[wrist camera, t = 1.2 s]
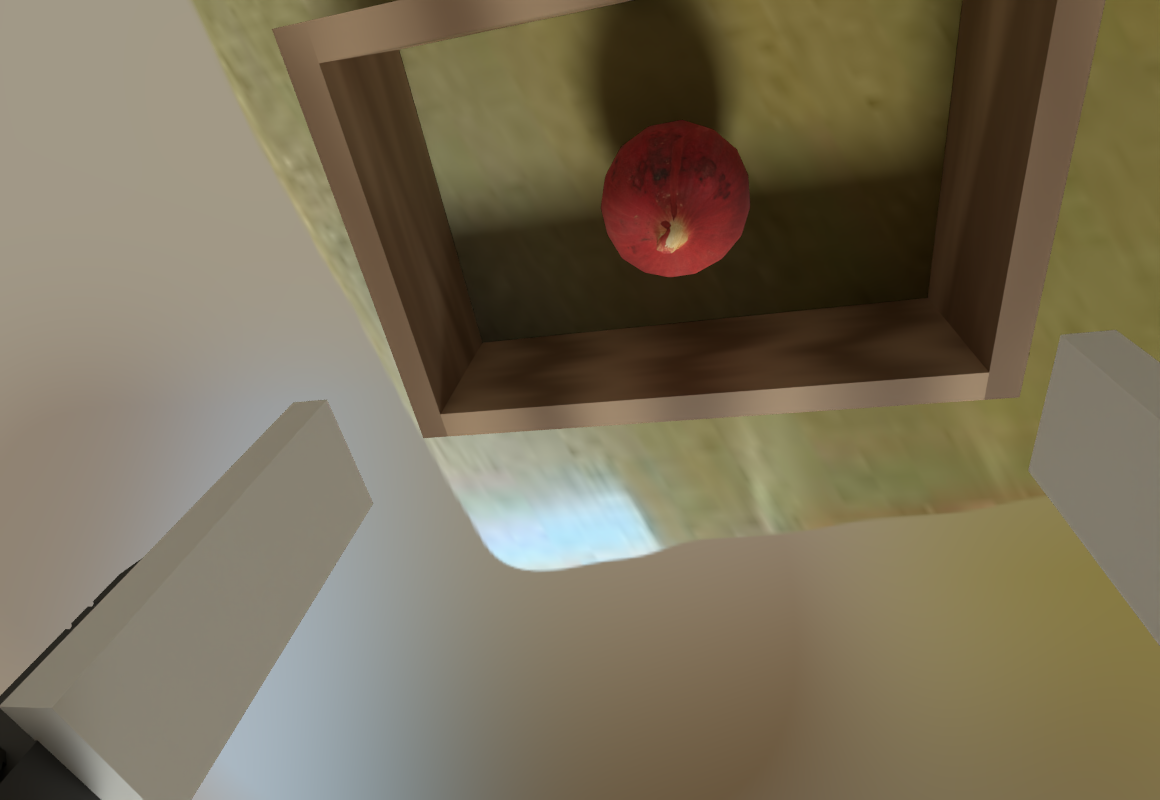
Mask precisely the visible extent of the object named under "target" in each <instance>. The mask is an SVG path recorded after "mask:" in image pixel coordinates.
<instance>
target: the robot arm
mask: <svg viewBox="0 0 1160 800" xmlns="http://www.w3.org/2000/svg"><path fill="white" fill-rule="evenodd" d="M1029 472H1030V474H1031V475H1032V476H1033V478H1034V479H1035V480H1036V482H1037V483H1038V484H1039V486H1040V487H1041V488H1042V490H1043V491H1044V492H1045V494H1046V495H1047V496H1048V498H1049V499H1050V500H1051V502H1052V503H1053V504H1054V506H1055V507H1056V508H1057V510H1058V511H1059V512H1060V514H1061V515H1062V516H1063V518H1064V519H1065V520H1066V521H1067V523H1068V524H1069V526H1070V527H1071V528H1072V529H1073V531H1074V532H1075V533H1076V535H1077V536H1078V538H1079V539H1080V540H1081V541H1082V543H1083V544H1084V546H1085V547H1086V548H1087V549H1088V551H1089V552H1090V554H1091V555H1092V556H1093V558H1094V559H1095V560H1096V561H1097V563H1098V564H1099V565H1100V567H1101V568H1102V569H1103V571H1104V572H1105V574H1106V575H1107V576H1108V578H1109V579H1110V580H1111V581H1112V583H1113V584H1114V585H1115V587H1116V588H1117V590H1118V591H1119V592H1120V594H1121V595H1122V596H1123V597H1124V599H1125V600H1126V601H1127V603H1128V604H1129V605H1130V607H1131V608H1132V609H1133V611H1134V612H1135V613H1136V615H1137V616H1138V618H1139V619H1140V620H1141V621H1142V623H1143V624H1144V626H1145V627H1146V628H1147V630H1148V631H1149V632H1150V633H1151V635H1152V636H1153V638H1154V639H1155V640H1156V642H1157V643H1158V644H1159V645H1160V362H1158V361H1157V360H1156V359H1154V358H1153V357H1152V356H1150V355H1149V354H1148V353H1146V352H1145V351H1144V350H1142V349H1141V348H1140V347H1138V346H1137V345H1136V344H1134V343H1133V342H1131V341H1130V340H1129V339H1127V338H1126V337H1125V336H1123V335H1122V334H1121V333H1119V332H1118V331H1117V330H1110V331H1099V332H1088V333H1076V334H1065V335H1061V336H1060V341H1059V345H1058V349H1057V353H1056V357H1055V362H1054V366H1053V370H1052V374H1051V378H1050V382H1049V387H1048V391H1047V395H1046V399H1045V403H1044V408H1043V412H1042V416H1041V420H1040V424H1039V429H1038V433H1037V437H1036V441H1035V445H1034V450H1033V454H1032V458H1031V462H1030V466H1029ZM372 505H373V502H372V500H371V498H370V495H369V493H368V491H367V488H366V486H365V484H364V482H363V479H362V477H361V475H360V473H359V470H358V468H357V466H356V464H355V461H354V459H353V457H352V455H351V453H350V450H349V448H348V446H347V444H346V441H345V439H344V437H343V435H342V432H341V430H340V428H339V426H338V424H337V421H336V419H335V417H334V414H333V412H332V410H331V408H330V406H329V404H328V401H327V400H318V401H306V402H295V403H293V404H292V405H291V406H290V407H289V408H288V409H287V410H286V411H285V412H284V413H283V414H282V415H281V416H280V417H279V418H278V419H277V420H276V421H275V422H274V423H273V424H272V425H271V426H270V427H269V428H268V429H267V430H266V432H265V433H263V435H262V436H261V437H260V438H259V439H258V440H257V441H256V442H255V443H254V444H253V445H252V446H251V447H250V448H249V449H248V450H247V451H246V452H245V453H244V454H243V455H242V456H241V457H240V458H239V459H238V460H237V461H236V462H235V463H234V464H233V465H232V466H231V468H230V469H229V470H228V471H227V472H226V473H225V474H224V475H223V476H222V477H221V478H220V479H219V480H218V481H217V482H216V483H215V484H214V485H213V486H212V487H211V488H210V489H209V490H208V491H207V492H206V493H205V494H204V495H203V496H202V498H200V500H199V501H198V502H197V503H196V504H195V505H194V506H193V507H192V508H191V509H190V510H189V511H188V512H187V513H186V514H185V515H184V516H183V517H182V518H181V519H180V520H179V521H178V522H177V523H176V524H175V525H174V527H172V528H171V530H169V531H168V532H167V534H166V535H165V536H164V537H163V538H162V539H161V540H160V541H159V542H158V543H157V544H156V545H155V546H154V547H153V548H152V549H151V550H150V551H149V552H148V553H147V554H146V555H145V556H144V557H143V558H142V559H141V560H139V561H138V562H136V563H135V564H133V565H132V566H131V567H129V568H128V569H127V570H125V571H124V572H123V573H121V574H120V575H119V576H118V577H117V578H116V579H115V580H114V581H113V582H112V583H111V584H110V585H109V586H108V587H107V588H106V589H105V590H104V591H103V592H102V593H101V594H100V595H99V596H98V597H97V598H96V599H95V600H94V601H93V602H94V604H93V606H92V607H87V608H86V609H85V610H84V611H83V612H82V613H81V614H80V615H79V616H78V617H77V618H76V619H75V620H74V621H73V622H72V627H71V629H65V630H64V631H63V633H62V634H61V635H60V636H59V637H58V638H57V639H56V640H55V641H54V642H53V643H52V644H51V645H50V646H49V647H48V648H47V649H46V650H45V651H44V652H43V653H42V654H41V655H40V656H39V657H38V658H37V659H36V660H35V661H34V662H33V663H32V664H31V665H30V666H29V667H28V668H27V669H26V670H25V671H24V672H23V673H22V674H21V675H20V676H19V677H18V678H17V679H16V680H15V681H14V682H13V684H11V686H10V687H8V689H7V690H6V691H5V692H4V693H3V694H2V695H1V696H0V800H192V798H193V796H194V795H195V793H196V791H197V790H198V788H199V787H200V785H201V783H202V782H203V780H204V778H205V777H206V775H207V774H208V772H209V770H210V768H211V767H212V765H213V763H214V762H215V760H216V759H217V757H218V756H219V754H220V752H221V751H222V749H223V747H224V746H225V744H226V743H227V741H228V739H229V738H230V736H231V734H232V733H233V731H234V730H235V728H236V726H237V724H238V723H239V721H240V720H241V718H242V716H243V715H244V713H245V712H246V710H247V708H248V707H249V705H250V703H251V702H252V700H253V699H254V697H255V695H256V694H257V692H258V690H259V688H260V687H261V686H262V684H263V682H264V681H265V679H266V677H267V676H268V674H269V672H270V671H271V669H272V667H273V666H274V664H275V663H276V661H277V659H278V658H279V656H280V655H281V653H282V651H283V650H284V648H285V646H286V645H287V643H288V641H289V640H290V638H291V636H292V635H293V633H294V632H295V630H296V628H297V627H298V625H299V624H300V622H301V620H302V619H303V617H304V615H305V613H306V612H307V610H308V609H309V607H310V606H311V604H312V602H313V601H314V599H315V597H316V596H317V594H318V592H319V591H320V589H321V588H322V586H323V584H324V583H325V581H326V580H327V578H328V576H329V575H330V573H331V571H332V570H333V568H334V566H335V565H336V563H337V561H338V560H339V558H340V557H341V555H342V553H343V552H344V550H345V549H346V547H347V545H348V544H349V542H350V540H351V539H352V537H353V536H354V534H355V532H356V530H357V529H358V527H359V526H360V524H361V522H362V521H363V519H364V517H365V516H366V514H367V513H368V511H369V509H370V508H371V506H372Z"/></svg>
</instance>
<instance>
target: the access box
mask: <svg viewBox="0 0 1160 800" xmlns="http://www.w3.org/2000/svg"><path fill="white" fill-rule="evenodd" d="M628 1H633V0H398V1H393V2H389V3H385V4H380V5H376V6H371V7H367V8H363V9H358V10H354V11H349V12H345V13H341V14H336V15H332V16H327V17H323V18H319V19H314V20H310V21H305V22H301V23H297V24H292V25H288V26H283V27H279V28H275V29H272V30H273V33H274V36H275V38H276V41H277V44H278V47H279V49H280V52H281V55H282V57H283V60H284V63H285V65H286V68H287V71H288V74H289V76H290V79H291V82H292V84H293V87H294V90H295V92H296V95H297V98H298V101H299V103H300V106H301V109H302V111H303V114H304V117H305V119H306V122H307V125H308V128H309V130H310V133H311V136H312V138H313V141H314V144H315V146H316V149H317V152H318V155H319V157H320V160H321V163H322V165H323V168H324V171H325V173H326V176H327V179H328V182H329V184H330V187H331V190H332V192H333V195H334V198H335V200H336V203H337V206H338V209H339V211H340V214H341V217H342V219H343V222H344V225H345V227H346V230H347V233H348V236H349V238H350V241H351V244H352V246H353V249H354V252H355V254H356V257H357V260H358V262H359V265H360V268H361V271H362V273H363V276H364V279H365V281H366V284H367V287H368V289H369V292H370V295H371V298H372V300H373V303H374V306H375V308H376V311H377V314H378V316H379V319H380V322H381V325H382V327H383V330H384V333H385V335H386V338H387V341H388V343H389V346H390V349H391V352H392V354H393V357H394V360H395V362H396V365H397V368H398V370H399V373H400V376H401V379H402V381H403V384H404V387H405V389H406V392H407V395H408V397H409V400H410V403H411V406H412V408H413V411H414V414H415V416H416V419H417V422H418V424H419V427H420V430H421V433H422V435H423V438H431V437H445V436H460V435H475V434H489V433H504V432H519V431H533V430H548V429H562V428H577V427H592V426H606V425H621V424H636V423H650V422H665V421H679V420H694V419H709V418H723V417H738V416H753V415H767V414H782V413H796V412H811V411H826V410H840V409H855V408H870V407H884V406H899V405H913V404H928V403H943V402H957V401H972V400H987V399H1001V398H1016V397H1020V392H1021V388H1022V383H1023V378H1024V374H1025V369H1026V365H1027V360H1028V355H1029V351H1030V346H1031V342H1032V337H1033V332H1034V328H1035V323H1036V318H1037V314H1038V309H1039V305H1040V300H1041V295H1042V291H1043V286H1044V282H1045V277H1046V272H1047V268H1048V263H1049V258H1050V254H1051V249H1052V245H1053V240H1054V235H1055V231H1056V226H1057V222H1058V217H1059V212H1060V208H1061V203H1062V198H1063V194H1064V189H1065V185H1066V180H1067V175H1068V171H1069V166H1070V162H1071V157H1072V152H1073V148H1074V143H1075V138H1076V134H1077V129H1078V125H1079V120H1080V115H1081V111H1082V106H1083V102H1084V97H1085V92H1086V88H1087V83H1088V78H1089V74H1090V69H1091V65H1092V60H1093V55H1094V51H1095V46H1096V42H1097V37H1098V32H1099V28H1100V23H1101V18H1102V14H1103V9H1104V5H1105V0H963V1H962V10H961V19H960V27H959V36H958V44H957V53H956V61H955V70H954V78H953V87H952V95H951V104H950V112H949V121H948V129H947V138H946V146H945V155H944V163H943V172H942V180H941V189H940V198H939V206H938V215H937V223H936V232H935V240H934V249H933V257H932V266H931V274H930V283H929V291H928V298H922V299H912V300H902V301H892V302H882V303H872V304H862V305H853V306H843V307H833V308H823V309H813V310H803V311H793V312H783V313H773V314H763V315H753V316H743V317H733V318H723V319H713V320H703V321H693V322H683V323H673V324H663V325H653V326H643V327H634V328H624V329H614V330H604V331H594V332H584V333H574V334H564V335H554V336H544V337H534V338H524V339H514V340H504V341H494V342H484V343H482V340H481V337H480V333H479V329H478V326H477V322H476V319H475V315H474V312H473V308H472V305H471V301H470V298H469V294H468V291H467V287H466V284H465V280H464V277H463V273H462V270H461V266H460V263H459V259H458V256H457V252H456V249H455V245H454V242H453V238H452V235H451V231H450V228H449V224H448V221H447V217H446V214H445V210H444V207H443V203H442V200H441V196H440V192H439V189H438V185H437V182H436V178H435V175H434V171H433V168H432V164H431V161H430V157H429V154H428V150H427V147H426V143H425V140H424V136H423V133H422V129H421V126H420V122H419V119H418V115H417V112H416V108H415V105H414V101H413V98H412V94H411V91H410V87H409V84H408V80H407V77H406V73H405V70H404V66H403V63H402V59H401V55H400V52H399V49H404V48H409V47H413V46H418V45H423V44H428V43H432V42H437V41H442V40H447V39H452V38H456V37H461V36H466V35H471V34H475V33H480V32H485V31H490V30H494V29H499V28H504V27H509V26H514V25H518V24H523V23H528V22H533V21H537V20H542V19H547V18H552V17H556V16H561V15H566V14H571V13H576V12H580V11H585V10H590V9H595V8H599V7H604V6H609V5H614V4H618V3H623V2H628Z"/></svg>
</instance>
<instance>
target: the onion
mask: <svg viewBox="0 0 1160 800" xmlns="http://www.w3.org/2000/svg"><path fill="white" fill-rule="evenodd" d="M601 210H602V214H603V218H604V222H605V226H606V230H607V234H608V236H609V238H610V239H611V241H612V243H613V244H614V246H615V248H616V249H617V251H618V253H619V254H620V256H621V257H622V258H623V259H624V260H626V261H627V262H629V263H630V264H632V265H634V266H635V267H637V268H638V269H640V270H642V271H643V272H645V273H650V274H655V275H661V276H666V277H676V276H682V275H689V274H695V273H697V272H699V271H701V270H703V269H705V268H706V267H708V266H710V265H712V264H714V263H716V262H717V261H719V260H721V259H722V258H723V257H724V256H725V255H726V253H727V252H728V251H729V250H730V249H731V248H732V246H733V245H734V244H735V243H736V242H737V240H738V239H739V238H740V237H741V235H742V232H743V229H744V226H745V222H746V219H747V216H748V213H749V210H750V194H749V179H748V174H747V171H746V169H745V167H744V165H743V162H742V160H741V158H740V156H739V153H738V151H737V149H736V148H734V147H733V146H732V145H731V144H730V143H729V142H728V141H726V140H725V139H724V138H723V137H722V136H721V135H719V134H718V133H717V132H716V131H715V130H713V129H710V128H707V127H704V126H701V125H698V124H694V123H691V122H688V121H685V120H678V121H673V122H668V123H663V124H657V125H652V126H649V127H647V128H646V129H644V130H643V131H642V132H640V133H639V134H637V135H636V136H635V137H633V138H632V139H631V140H629V141H628V142H627V143H625V144H624V145H623V146H621V148H620V150H619V151H618V153H617V155H616V157H615V159H614V161H613V162H612V164H611V166H610V168H609V170H608V172H607V174H606V177H605V182H604V189H603V196H602V203H601Z"/></svg>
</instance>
